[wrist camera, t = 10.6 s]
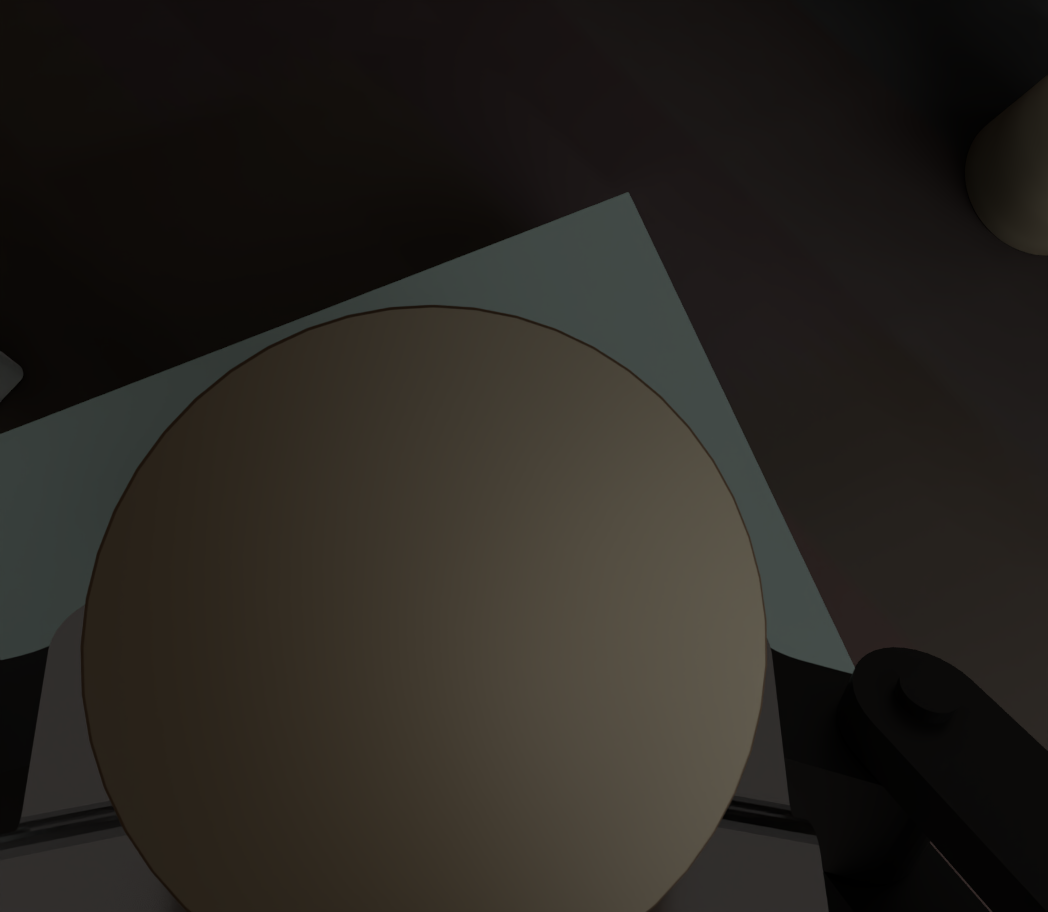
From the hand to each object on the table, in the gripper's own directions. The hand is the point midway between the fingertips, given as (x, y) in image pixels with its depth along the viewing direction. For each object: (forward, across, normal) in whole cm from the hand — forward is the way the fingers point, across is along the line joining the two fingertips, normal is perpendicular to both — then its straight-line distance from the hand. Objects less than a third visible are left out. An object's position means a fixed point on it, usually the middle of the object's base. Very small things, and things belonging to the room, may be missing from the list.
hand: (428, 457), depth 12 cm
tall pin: (+2, 0, +5) cm, 5 cm away
